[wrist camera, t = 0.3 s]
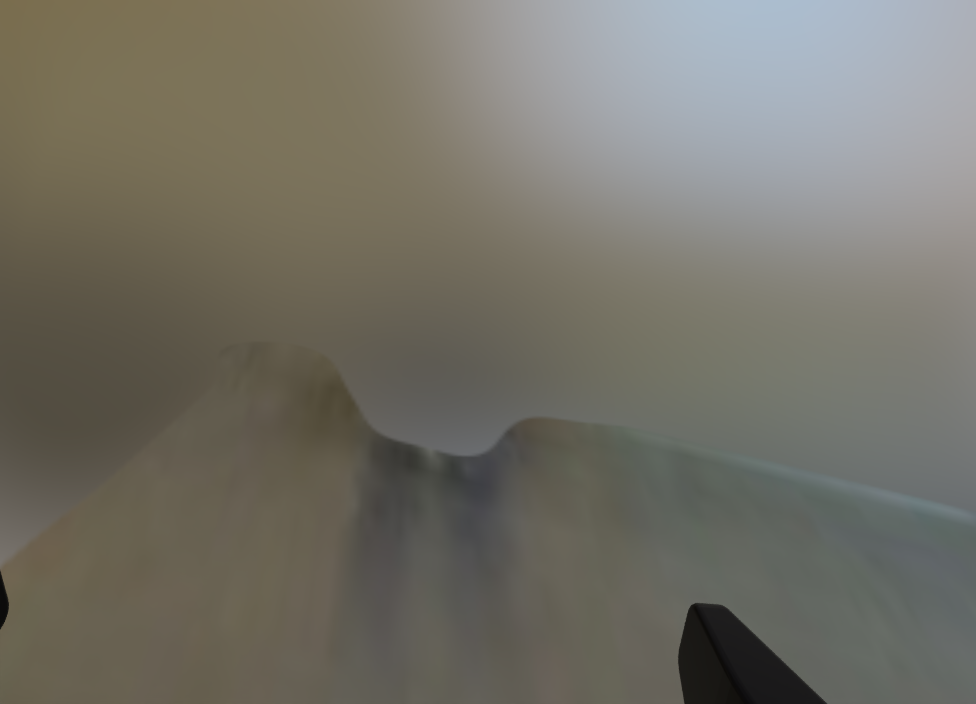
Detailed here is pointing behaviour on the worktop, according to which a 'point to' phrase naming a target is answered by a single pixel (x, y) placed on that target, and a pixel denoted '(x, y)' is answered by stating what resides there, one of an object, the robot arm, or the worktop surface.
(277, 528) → the worktop surface
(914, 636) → the worktop surface
